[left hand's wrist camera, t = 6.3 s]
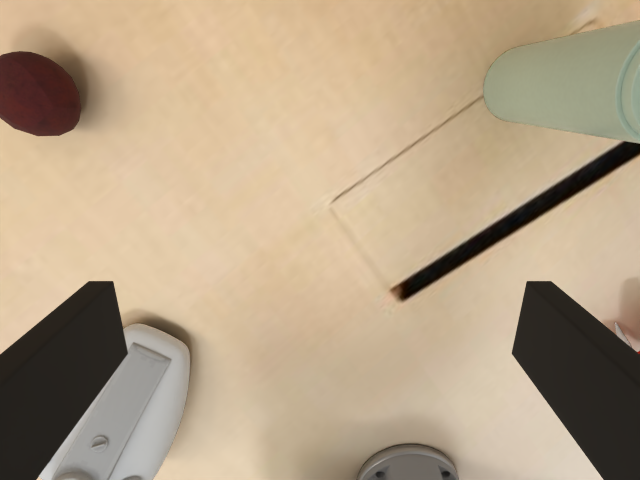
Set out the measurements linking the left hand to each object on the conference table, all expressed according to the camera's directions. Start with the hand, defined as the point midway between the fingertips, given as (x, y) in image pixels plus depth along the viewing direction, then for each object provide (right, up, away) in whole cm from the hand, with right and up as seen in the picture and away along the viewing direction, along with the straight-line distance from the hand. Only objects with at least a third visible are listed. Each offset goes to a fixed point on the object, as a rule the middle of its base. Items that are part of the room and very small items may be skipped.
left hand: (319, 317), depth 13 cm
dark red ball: (-27, +17, +28) cm, 43 cm away
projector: (-26, -18, +41) cm, 52 cm away
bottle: (+20, +18, +28) cm, 39 cm away
